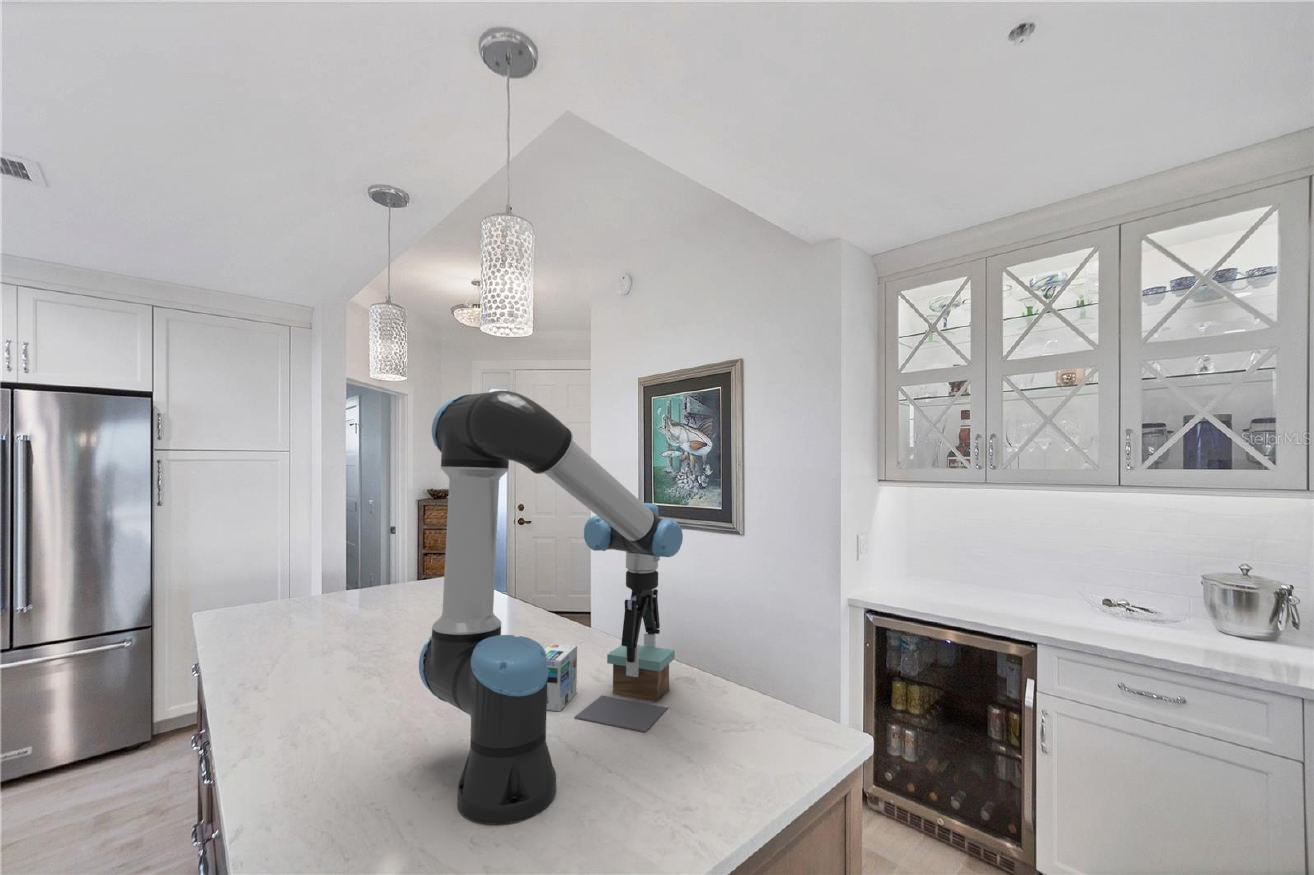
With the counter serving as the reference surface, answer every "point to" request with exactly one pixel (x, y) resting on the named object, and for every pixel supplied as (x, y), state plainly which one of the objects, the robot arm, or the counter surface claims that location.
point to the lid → (644, 657)
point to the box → (641, 683)
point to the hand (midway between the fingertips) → (641, 668)
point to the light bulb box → (561, 675)
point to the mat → (622, 713)
